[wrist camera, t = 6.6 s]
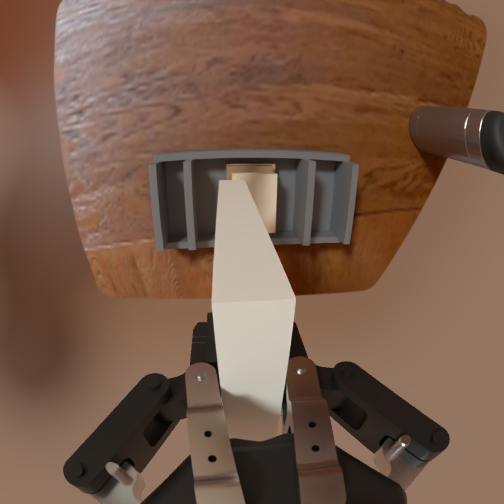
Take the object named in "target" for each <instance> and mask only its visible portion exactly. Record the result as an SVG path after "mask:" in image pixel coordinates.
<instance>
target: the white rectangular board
mask: <svg viewBox="0 0 504 504" xmlns="http://www.w3.org/2000/svg"><path fill="white" fill-rule="evenodd" d="M295 304H296V297H295V295H294V292H293V290H292V288H291V285H290V283H289V281H288V278H287V276H286V274H285V271H284V269H283V267H282V264H281V262H280V260H279V257H278V255H277V253H276V250H275V248H274V246H273V243H272V241H271V239H270V236H269V234H268V232H267V230H266V227H265V225H264V223H263V220H262V218H261V216H260V214H259V211H258V209H257V207H256V205H255V202H254V200H253V198H252V196H251V193H250V191H249V189H248V187H247V185H246V182H245V180H219V190H218V203H217V216H216V231H215V247H214V264H213V284H212V312H213V323H214V333H215V343H216V353H217V362H218V370H219V379H220V387H221V395H222V402H223V410H224V415H225V420H226V425H227V429H228V434H229V438H238V439H244V440H252V441H264V440H267V439H270V438H273V437H276V434H277V428H278V423H279V417H280V412H281V406H282V400H283V393H284V387H285V380H286V374H287V367H288V360H289V353H290V345H291V337H292V330H293V321H294V313H295Z"/></svg>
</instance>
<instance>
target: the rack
mask: <svg viewBox="0 0 504 504" xmlns="http://www.w3.org/2000/svg"><path fill="white" fill-rule="evenodd" d="M153 161H154V162H153V163H151V164H149V165H148V167H149V181H150V194H151V205H152V214H153V223H154V232H155V240H156V247H157V252H163V251H164V250H165V249H184V248H189V250H196V248H208V247H215V231H216V216H217V203H218V190H219V180H226V163H251V162H261V163H275V173H276V174H277V202H276V227H275V233H268V234H269V236H270V239H271V241H272V243H273V245H284V244H302V245H303V246H310V244H311V243H340V242H342V243H343V244H350V238H351V231H352V224H353V217H354V209H355V200H356V191H357V181H358V169H359V165H358V164H355V163H352V162H350V155H346V154H342V153H336V152H323V151H308V150H286V149H213V150H192V151H176V152H164V153H158V154H155V155H153Z"/></svg>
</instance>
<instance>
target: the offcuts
mask: <svg viewBox="0 0 504 504" xmlns="http://www.w3.org/2000/svg"><path fill="white" fill-rule="evenodd" d="M226 180H245V182H246V185H247V187H248V189H249V191H250V193H251V196H252V198H253V200H254V202H255V205H256V207H257V209H258V211H259V214H260V216H261V218H262V220H263V223H264V225H265V227H266V230H267V232H268V233H275V227H276V202H277V174H276V173H275V163H261V162H251V163H226Z"/></svg>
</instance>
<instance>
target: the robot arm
mask: <svg viewBox="0 0 504 504" xmlns="http://www.w3.org/2000/svg"><path fill="white" fill-rule="evenodd" d="M410 134H411V137H412V140H413V142H414V144H415V145H416V146H417V148H418V149H420V150H421V151H423V152H426V153H430V154H435V155H438V156H442V157H446V158H450V159H454V160H458V161H462V162H465V163H468V164H472V165H475V166H479V167H482V168H485V169H488V170H491V171H495V172H498V173H500V174H504V113H503V112H499V111H491V110H482V109H470V108H458V107H436V106H422V107H419V108H417V109H416V110H415V111H414V112H413V114H412V116H411V119H410ZM207 315H208V316H207V322H199V323H197V325H196V326H195V328H194V329H193V339H192V349H191V361H190V367H188V369H187V370H186V372H185V373H184V374H182V375H180V376H178V377H174V378H170V379H167V378H166V377H165V376H163V375H162V374H158V373H153V374H149V375H146V376H145V377H144V378H142V379H141V380H140V381H139V383H138V384H137V385H136V386H135V387H134V388H133V389H132V390H131V391H130V392H129V394H128V395H127V396H126V397H125V398H124V399H123V400H122V401H121V402H120V403H119V405H118V406H117V407H116V408H115V409H114V410H113V411H112V412H111V413H110V414H109V415H108V417H107V418H106V419H105V420H104V421H103V422H102V423H101V424H100V425H99V426H98V427H97V429H96V430H95V431H94V432H93V433H92V434H91V435H90V436H89V438H87V440H86V441H85V442H84V443H83V444H82V445H81V446H80V447H79V448H78V449H77V450H76V451H75V453H74V454H73V455H72V456H71V457H70V458H69V459H68V460H67V461H66V463H65V465H64V468H63V472H64V476H65V478H66V480H67V481H68V482H69V483H70V484H72V485H73V486H75V487H77V488H78V489H79V490H80V491H82V492H83V493H85V494H87V495H88V496H90V497H92V498H93V499H96V500H98V501H99V502H100V503H101V504H407V496H406V493H405V490H406V489H407V487H408V486H409V485H410V484H411V483H412V482H413V481H414V479H415V478H416V477H417V476H418V475H419V473H420V472H421V471H422V470H423V468H424V467H425V466H426V465H427V464H428V463H429V462H431V461H432V460H433V459H434V458H436V457H437V456H438V455H439V454H440V453H441V452H442V451H444V450H445V449H446V448H447V446H448V444H449V440H450V439H449V434H448V432H447V431H446V430H445V429H444V428H443V427H441V426H440V425H438V424H437V423H436V422H434V421H433V420H431V419H430V418H429V417H427V416H426V415H424V414H423V413H422V412H420V411H419V410H417V409H416V408H415V407H413V406H412V405H410V404H409V403H408V402H406V401H405V400H403V399H402V398H401V397H399V396H398V395H397V394H395V393H394V392H393V391H391V390H390V389H389V388H387V387H386V386H385V385H383V384H382V383H380V382H379V381H378V380H376V379H375V378H374V377H372V376H371V375H370V374H368V373H367V372H366V371H364V370H363V369H361V368H360V367H359V366H358V365H356V364H354V363H352V362H346V361H345V362H340V363H338V364H337V365H335V367H334V368H326V367H320V366H317V365H315V364H314V362H313V361H312V360H311V359H309V358H308V356H307V353H306V351H305V348H304V345H303V342H302V339H301V337H300V334H299V332H298V328H297V325H296V323H295V322H294V321H293V330H292V337H291V345H290V353H289V360H288V367H287V374H286V380H285V387H284V393H283V400H282V406H281V413H282V435H279V436H276V437H273V438H270V439H267V440H264V441H252V440H244V439H238V438H229V434H228V429H227V425H226V420H225V415H224V410H223V406H222V402H221V387H220V379H219V370H218V362H217V353H216V343H215V333H214V323H213V313H208V314H207ZM330 416H331V417H332V418H333V419H334V420H335V421H337V422H338V423H339V424H340V425H341V426H342V427H343V428H344V429H346V430H347V431H348V432H349V433H350V434H351V435H352V436H354V437H355V438H356V439H357V440H358V441H360V442H361V443H362V444H363V445H364V446H365V447H367V448H368V449H369V450H370V451H371V452H373V453H374V454H375V455H374V463H375V465H376V467H377V468H378V469H379V470H380V471H381V473H380V472H378V471H376V470H374V469H372V468H371V467H369V466H367V465H366V464H364V463H362V462H361V461H359V460H358V459H356V458H354V457H353V456H351V455H350V454H348V453H347V452H345V451H344V450H342V449H340V448H339V447H337V446H336V445H335V442H334V436H333V431H332V426H331V420H330ZM184 418H187V425H188V435H189V444H190V453H191V454H190V455H189V456H188V457H187V458H186V459H185V460H184V461H183V462H182V464H180V466H178V467H177V469H176V470H175V471H174V472H173V473H172V474H171V475H170V476H169V477H168V478H167V479H166V480H165V481H164V482H163V483H162V484H161V485H159V487H158V488H156V489H155V490H154V491H153V492H152V493H151V494H150V495H149V496H148V497H147V498H146V499H145V500H144V501H143V502H142V499H141V493H142V491H143V489H144V485H145V482H144V478H143V477H142V475H141V474H140V473H141V472H142V471H143V469H144V468H145V467H146V466H147V464H148V463H149V462H150V460H151V459H152V458H153V456H154V455H155V454H156V452H157V451H158V450H159V448H160V447H161V445H162V444H163V443H164V441H165V440H166V439H167V437H168V436H169V435H170V433H171V432H172V431H173V429H174V428H175V426H176V425H177V424H178V422H179V421H180V419H184Z"/></svg>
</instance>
